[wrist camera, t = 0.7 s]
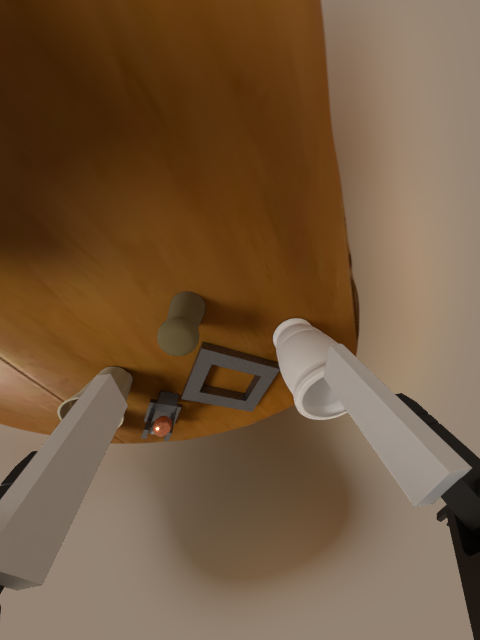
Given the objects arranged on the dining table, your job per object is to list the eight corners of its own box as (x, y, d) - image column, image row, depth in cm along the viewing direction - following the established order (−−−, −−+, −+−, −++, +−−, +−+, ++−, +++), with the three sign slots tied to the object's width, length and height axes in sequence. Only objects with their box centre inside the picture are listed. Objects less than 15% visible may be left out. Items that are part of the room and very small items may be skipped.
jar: (256, 340, 37) (279, 404, 24) (293, 302, 34) (342, 352, 21) (291, 363, 41) (327, 429, 28) (327, 330, 38) (386, 387, 25)
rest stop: (158, 398, 41) (154, 410, 38) (160, 390, 40) (156, 403, 38) (176, 401, 42) (173, 413, 40) (179, 394, 41) (176, 406, 39)
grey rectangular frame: (182, 390, 41) (181, 398, 39) (202, 341, 36) (201, 348, 34) (250, 403, 46) (252, 411, 44) (277, 362, 40) (280, 369, 38)
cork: (212, 310, 33) (211, 347, 23) (186, 328, 34) (175, 370, 24) (189, 284, 30) (177, 313, 21) (162, 304, 31) (138, 340, 22)
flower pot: (149, 387, 40) (134, 426, 32) (108, 398, 40) (82, 439, 32) (126, 354, 35) (102, 390, 27) (79, 367, 35) (42, 406, 28)
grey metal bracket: (144, 418, 44) (135, 443, 39) (150, 399, 41) (142, 423, 36) (174, 422, 46) (169, 446, 41) (181, 404, 43) (177, 427, 38)
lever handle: (167, 421, 42) (163, 437, 40) (153, 419, 41) (148, 435, 40) (176, 416, 31) (170, 437, 29) (156, 413, 30) (149, 435, 28)
